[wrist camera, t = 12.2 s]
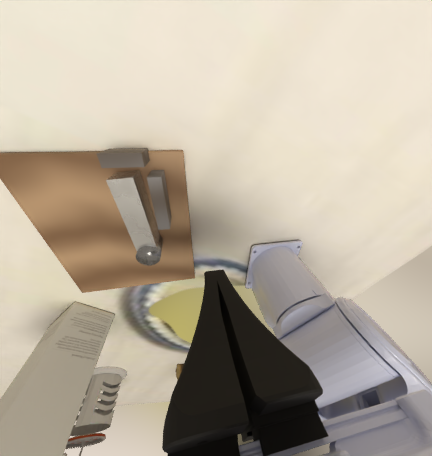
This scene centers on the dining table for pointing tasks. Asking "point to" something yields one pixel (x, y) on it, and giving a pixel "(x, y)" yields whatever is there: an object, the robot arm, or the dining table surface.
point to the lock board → (103, 212)
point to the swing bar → (137, 215)
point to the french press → (101, 417)
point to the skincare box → (53, 384)
